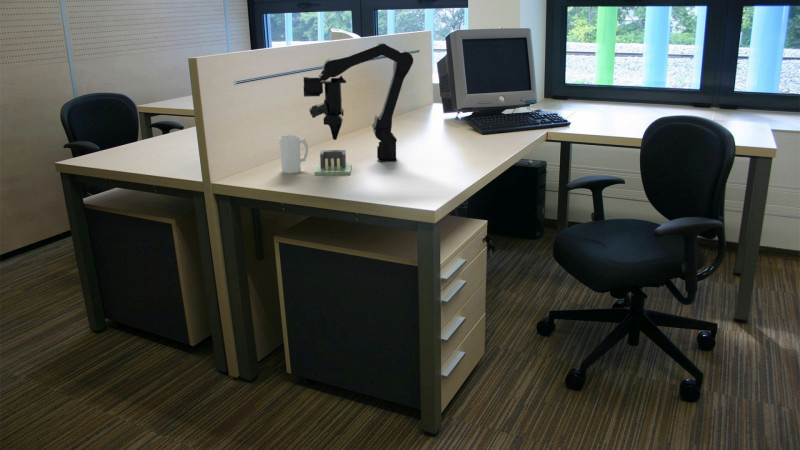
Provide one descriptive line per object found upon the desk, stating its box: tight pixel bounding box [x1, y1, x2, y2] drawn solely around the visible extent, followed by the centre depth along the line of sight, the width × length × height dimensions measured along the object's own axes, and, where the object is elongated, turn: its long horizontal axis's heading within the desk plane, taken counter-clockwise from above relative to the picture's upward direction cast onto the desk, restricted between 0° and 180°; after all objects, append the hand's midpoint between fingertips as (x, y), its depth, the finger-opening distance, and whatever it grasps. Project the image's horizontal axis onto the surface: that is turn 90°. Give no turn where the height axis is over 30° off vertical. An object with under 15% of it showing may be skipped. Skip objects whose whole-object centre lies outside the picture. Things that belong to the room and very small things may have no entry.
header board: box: [314, 159, 352, 176], centre depth 228 cm, size 12×12×5 cm
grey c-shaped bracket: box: [319, 149, 347, 169], centre depth 229 cm, size 6×8×5 cm
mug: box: [279, 134, 309, 175], centre depth 226 cm, size 10×7×12 cm, turn 124°
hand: (334, 139), depth 237 cm, fingers closed
